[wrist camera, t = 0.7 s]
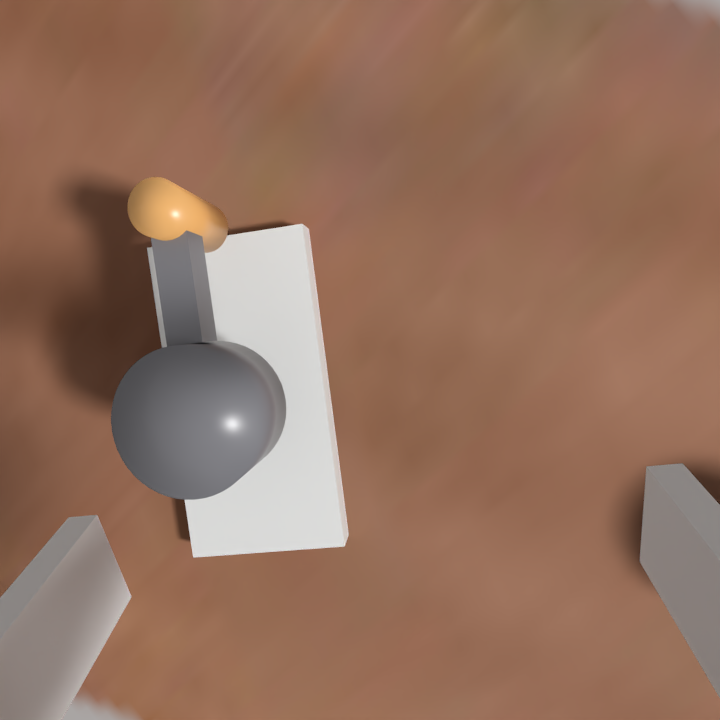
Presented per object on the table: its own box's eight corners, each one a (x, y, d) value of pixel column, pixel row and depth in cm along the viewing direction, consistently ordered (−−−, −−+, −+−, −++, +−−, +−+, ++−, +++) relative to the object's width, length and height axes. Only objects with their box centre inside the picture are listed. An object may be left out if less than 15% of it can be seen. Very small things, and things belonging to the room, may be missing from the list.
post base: (348, 534, 38) (334, 574, 32) (204, 545, 39) (165, 585, 33) (308, 229, 37) (286, 211, 31) (161, 251, 38) (112, 238, 32)
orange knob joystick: (299, 460, 33) (270, 492, 26) (179, 471, 34) (123, 505, 27) (263, 193, 32) (224, 162, 25) (140, 213, 33) (74, 188, 26)
